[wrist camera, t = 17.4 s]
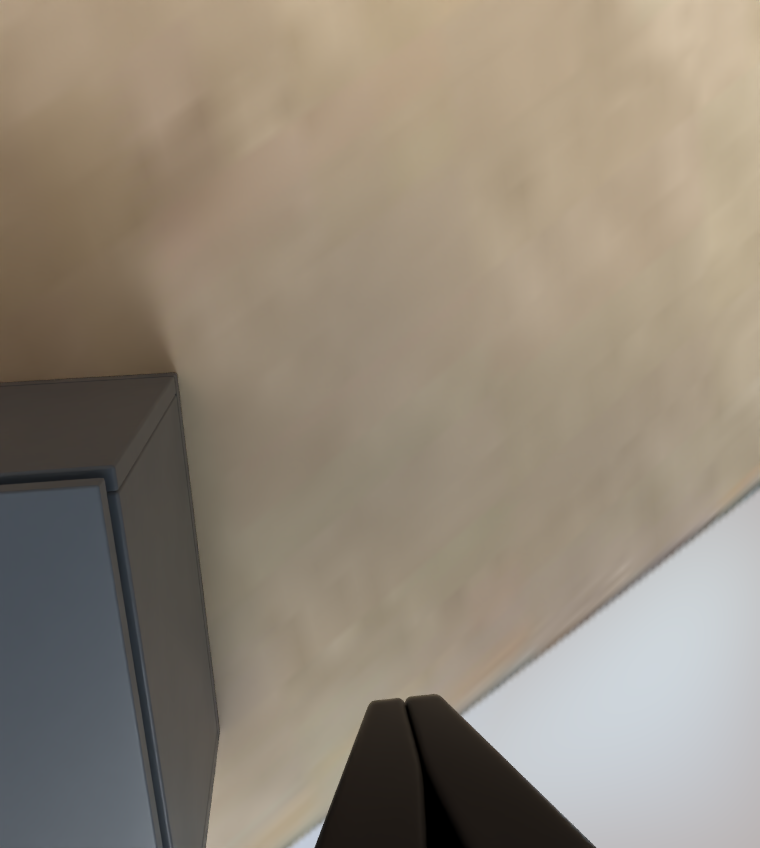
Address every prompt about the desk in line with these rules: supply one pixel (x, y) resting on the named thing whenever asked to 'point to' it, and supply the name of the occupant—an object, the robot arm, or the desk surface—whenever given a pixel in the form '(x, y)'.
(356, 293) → the desk surface
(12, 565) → the panel
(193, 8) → the desk surface
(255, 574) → the desk surface
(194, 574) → the box
